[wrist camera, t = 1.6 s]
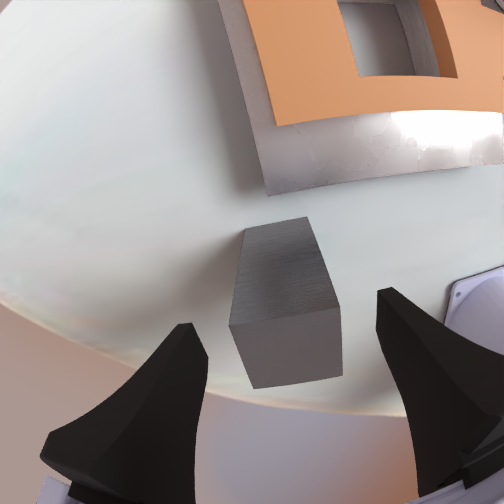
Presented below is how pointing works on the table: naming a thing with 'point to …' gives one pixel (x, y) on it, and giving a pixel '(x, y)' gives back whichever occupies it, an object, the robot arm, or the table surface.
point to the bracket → (374, 87)
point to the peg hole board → (359, 122)
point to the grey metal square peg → (285, 307)
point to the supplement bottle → (501, 3)
